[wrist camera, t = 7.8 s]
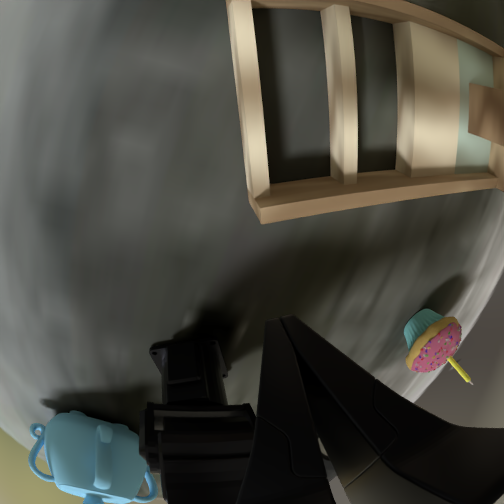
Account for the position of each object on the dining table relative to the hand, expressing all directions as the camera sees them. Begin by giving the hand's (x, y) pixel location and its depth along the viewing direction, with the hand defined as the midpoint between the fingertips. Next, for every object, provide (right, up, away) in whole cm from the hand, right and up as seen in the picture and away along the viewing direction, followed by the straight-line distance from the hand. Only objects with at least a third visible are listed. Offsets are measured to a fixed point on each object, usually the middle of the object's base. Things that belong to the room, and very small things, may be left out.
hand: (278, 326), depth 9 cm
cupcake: (+21, -7, +24) cm, 33 cm away
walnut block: (+19, +15, +8) cm, 26 cm away
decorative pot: (-24, -24, +23) cm, 41 cm away
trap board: (+10, +14, +9) cm, 19 cm away
